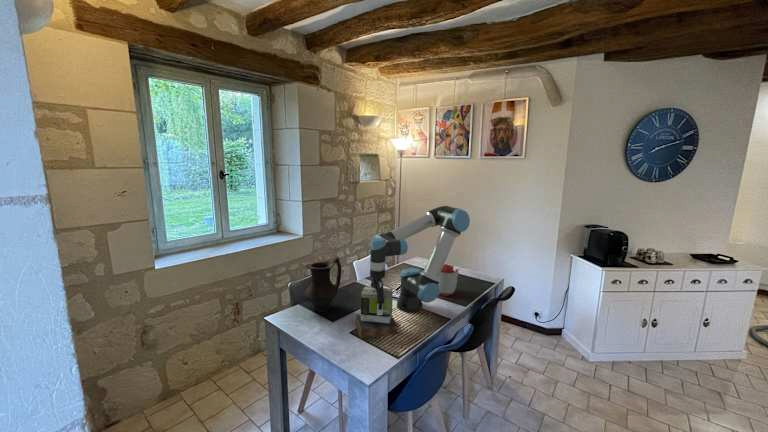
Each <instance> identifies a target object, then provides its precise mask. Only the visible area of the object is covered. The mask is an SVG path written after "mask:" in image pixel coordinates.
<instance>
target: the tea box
mask: <svg viewBox="0 0 768 432" xmlns="http://www.w3.org/2000/svg"><path fill="white" fill-rule="evenodd" d="M393 291H394V290H393V288H390V287H389V288H387V287H386V288H385V287H383V293H384V304H383V315H377V302H378V300H377V291H376V290H375V288H373V287H371V286H364V288H363V289H362V291H361V292H360V315H361V321H371V322H381V323H390V320H391V316H393V295H394V294H393Z"/></svg>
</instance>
